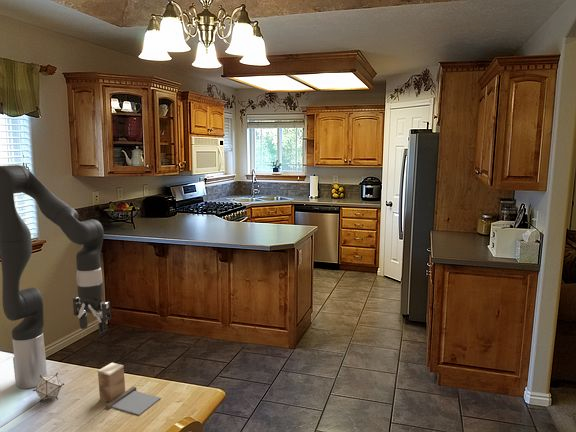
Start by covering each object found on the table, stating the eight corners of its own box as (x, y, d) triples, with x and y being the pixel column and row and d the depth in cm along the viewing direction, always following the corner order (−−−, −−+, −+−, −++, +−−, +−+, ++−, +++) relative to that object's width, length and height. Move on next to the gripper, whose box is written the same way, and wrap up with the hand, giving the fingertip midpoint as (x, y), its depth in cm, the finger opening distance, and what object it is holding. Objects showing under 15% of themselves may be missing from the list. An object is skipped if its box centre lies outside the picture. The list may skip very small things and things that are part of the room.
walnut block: (100, 399, 145) (97, 370, 143) (113, 390, 150) (112, 362, 149) (111, 402, 143) (109, 373, 141) (125, 393, 148) (123, 365, 147)
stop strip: (105, 408, 140) (105, 405, 140) (133, 389, 151) (132, 386, 151) (109, 409, 139) (109, 406, 139) (136, 390, 150) (136, 387, 150)
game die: (52, 411, 145) (47, 398, 138) (30, 400, 146) (23, 387, 139) (72, 387, 151) (67, 373, 144) (50, 376, 152) (45, 362, 145)
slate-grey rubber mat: (111, 407, 140) (111, 406, 140) (134, 391, 149) (134, 390, 149) (139, 415, 136) (139, 414, 136) (160, 398, 145) (160, 397, 145)
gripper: (64, 282, 143) (67, 331, 145) (97, 288, 137) (100, 338, 140) (83, 276, 150) (86, 322, 152) (115, 281, 144) (118, 329, 146)
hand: (93, 330), depth 146 cm, fingers open, 7 cm apart
